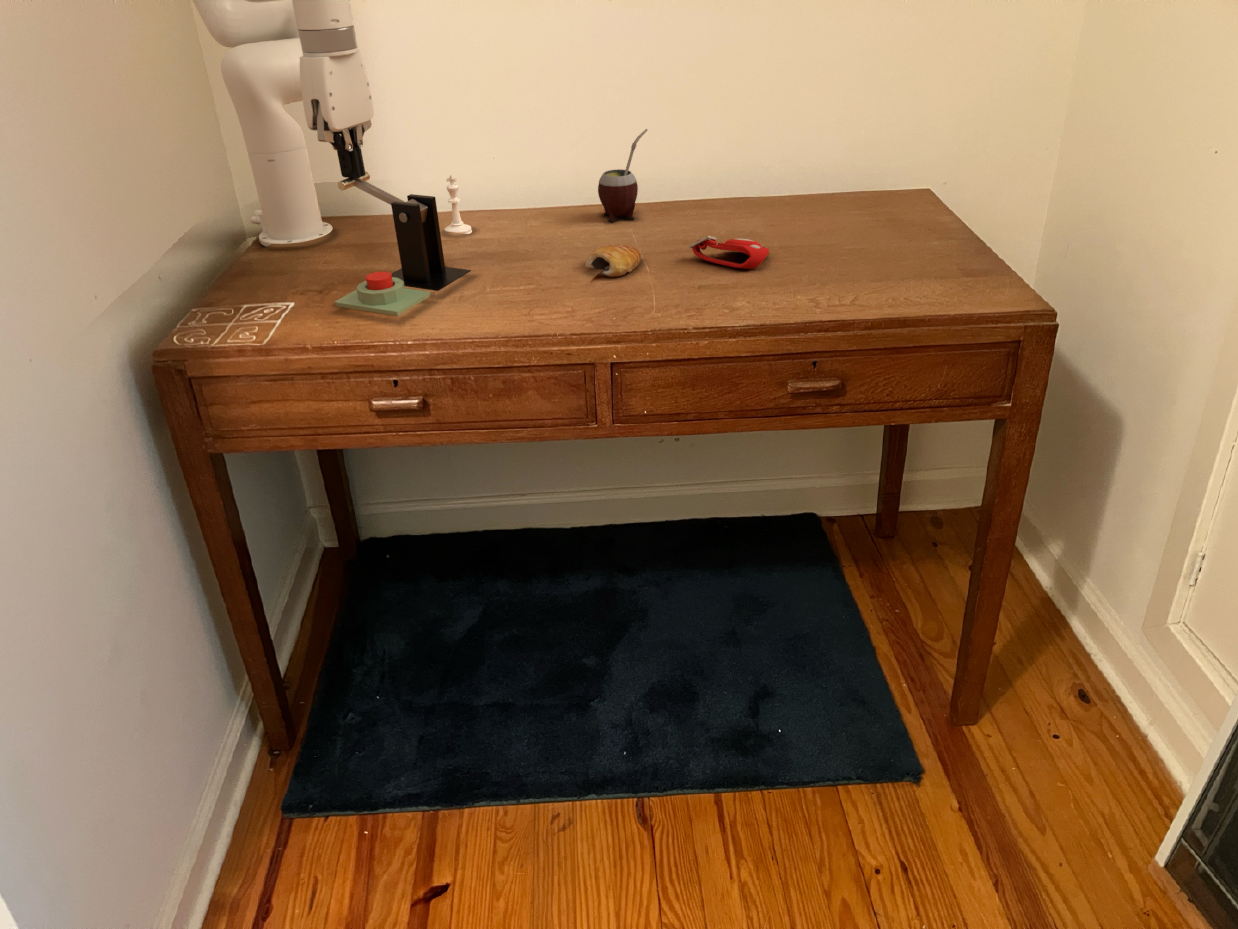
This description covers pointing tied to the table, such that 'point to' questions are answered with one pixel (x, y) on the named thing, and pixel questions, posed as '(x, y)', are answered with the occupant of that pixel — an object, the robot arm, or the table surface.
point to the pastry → (614, 259)
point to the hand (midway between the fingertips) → (353, 176)
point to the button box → (383, 298)
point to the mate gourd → (619, 190)
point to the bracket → (421, 246)
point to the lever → (378, 192)
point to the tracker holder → (740, 245)
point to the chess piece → (455, 210)
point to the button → (379, 281)
